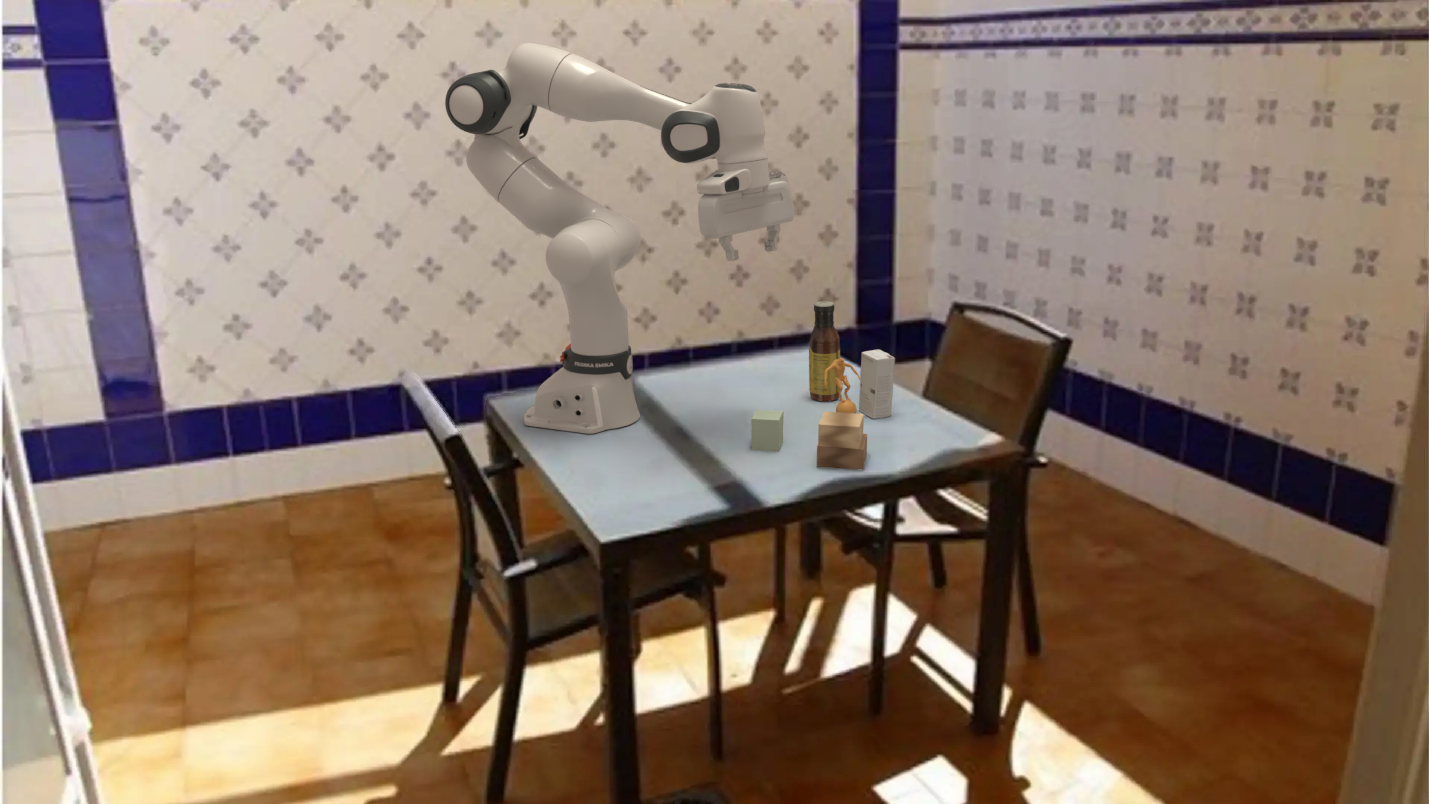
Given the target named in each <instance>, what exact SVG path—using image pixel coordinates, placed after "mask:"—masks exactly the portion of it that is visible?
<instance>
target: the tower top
mask: <svg viewBox="0 0 1429 804" xmlns="http://www.w3.org/2000/svg"><path fill="white" fill-rule="evenodd" d="M864 416H865V414H864V413H857V412H856V413H840V412H836V411H835V412H834V411H823V413H822V416H821V418H820V420H819V423H818V429H817V430H818V432H817V434H818V435H817V445H818V446H821V447H835V448H850V449H859V447H860V444H861V441H862V437H863V434H864V419H865V417H864Z"/></svg>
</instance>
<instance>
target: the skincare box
mask: <svg viewBox="0 0 1429 804" xmlns="http://www.w3.org/2000/svg"><path fill="white" fill-rule="evenodd" d="M860 357H861V358H860V359H861V362H860V375H859V377H860V380H859V395H858V397H859V398H858V410H859V411H860V412H861V413H862V414H864V415H866V416H867V417H869V418H870V419H883V418H887V417H891V416H892V405H893V394H894V393H893V392H894V391H893V390H894V377H895V374H894V373H895V362H896V358H895V357H894V356H892V355H890V353H888V352H885V351H883V350H881V349H873V350H866V351H862V352H861V356H860Z"/></svg>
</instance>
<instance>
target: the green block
mask: <svg viewBox="0 0 1429 804" xmlns="http://www.w3.org/2000/svg"><path fill="white" fill-rule="evenodd" d="M750 421H751V426H750V427H751V428H750V429H751V451H761V452H763V451H764V452H780V451H781V448H782V446H783V443H784V411H783V410H765V409H756V410H754V413H753V415H752V417H751V419H750Z"/></svg>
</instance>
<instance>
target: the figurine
mask: <svg viewBox="0 0 1429 804" xmlns="http://www.w3.org/2000/svg"><path fill="white" fill-rule="evenodd" d="M846 368H850V369H851V370H852V371H853V373H854V374H855V375H856V376H857V377H858V380H859V381H860V375H859V374H858V372H857V370H856V369H855V368H854V366H853V365H852V364H850V363H846V361H844V359H843V357H840V359H836V360H834V361H833V363H832V364H831V365H830V367H828V368H827V369H826V370H825V378H824V386H827V384H828V383H827V382H826V380H827V372H828V371H830V370H831V369H834V371H835V373H836V375H837V377H836V378H835V382H836V384H837V386H838V388H839V389H840V390H838V393H839V398H838V399H839V400H840V401H838V403H837V405H836V407H835V412H840V413H856V414H857V412H858V410H857V406H856V404H855V403H854V402H853V401H852V400H851V398H849V396H848V392H849V391H850V389H851V387H852V386H851V384H850V383H849V380H848V376H847V375H846V374H844V373H845V370H846ZM843 385H844V386H845V388H844V387H843ZM843 388H844V396H845V399H843V396H842V394H841V393H842V391H843Z"/></svg>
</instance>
